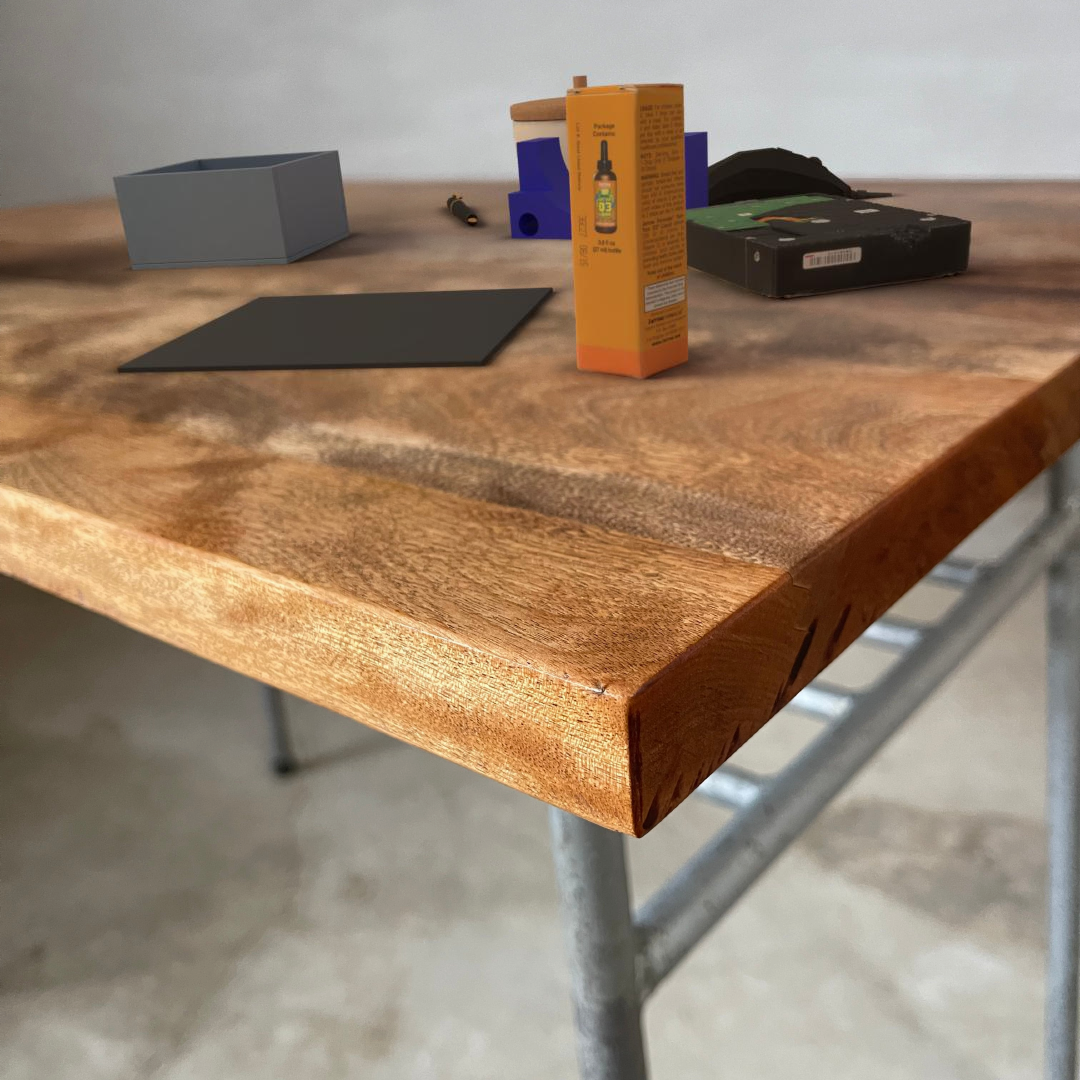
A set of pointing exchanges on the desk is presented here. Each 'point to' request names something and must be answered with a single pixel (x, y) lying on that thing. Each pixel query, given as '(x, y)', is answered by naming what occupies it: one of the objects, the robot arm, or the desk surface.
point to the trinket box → (544, 119)
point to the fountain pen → (461, 210)
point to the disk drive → (822, 244)
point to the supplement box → (628, 227)
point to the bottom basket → (233, 210)
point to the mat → (351, 332)
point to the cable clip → (548, 186)
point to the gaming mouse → (774, 177)
